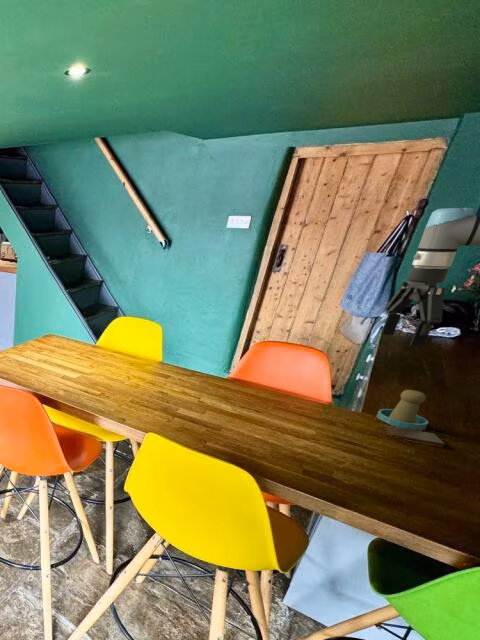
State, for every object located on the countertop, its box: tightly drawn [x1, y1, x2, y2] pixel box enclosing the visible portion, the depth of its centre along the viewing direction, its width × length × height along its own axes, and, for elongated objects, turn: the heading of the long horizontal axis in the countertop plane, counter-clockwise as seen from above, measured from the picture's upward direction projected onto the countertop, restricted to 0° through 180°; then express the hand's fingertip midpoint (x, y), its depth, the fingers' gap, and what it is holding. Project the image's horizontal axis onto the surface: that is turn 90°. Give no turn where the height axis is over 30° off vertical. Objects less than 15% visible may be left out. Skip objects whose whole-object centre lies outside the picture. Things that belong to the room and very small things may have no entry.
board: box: [383, 425, 445, 447], centre depth 119 cm, size 11×7×2 cm, turn 60°
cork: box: [389, 389, 427, 423], centre depth 125 cm, size 6×6×11 cm
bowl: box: [375, 408, 429, 431], centre depth 127 cm, size 11×11×3 cm
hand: (400, 340), depth 122 cm, fingers open, 13 cm apart
